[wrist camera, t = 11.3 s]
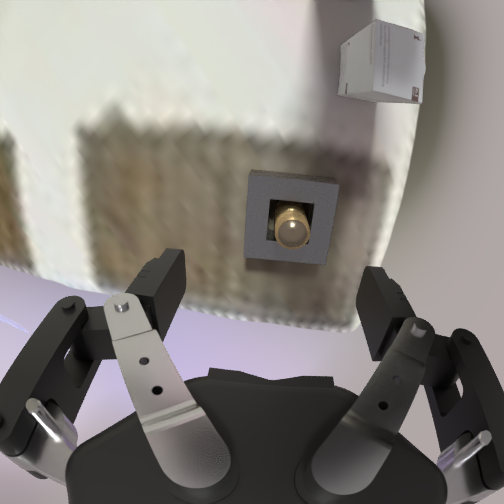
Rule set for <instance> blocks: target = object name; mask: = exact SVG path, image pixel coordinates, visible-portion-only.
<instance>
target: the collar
mask: <svg viewBox="0 0 504 504" xmlns="http://www.w3.org/2000/svg"><path fill="white" fill-rule="evenodd" d="M339 186H340V185H339V184H338V183H337V181H336V180H335V179H333V178H325V177H318V176H310V175H301V174H292V173H283V172H273V171H262V170H251V171H250V174H249V180H248V195H247V210H246V225H245V240H244V256H243V257H246V258H257V259H267V260H278V261H288V262H299V263H310V264H321V265H325V263H326V259H327V254H328V249H329V244H330V238H331V233H332V228H333V222H334V217H335V211H336V205H337V199H338V193H339ZM270 199H276V200H286V201H295V202H304V203H310V208H309V215H308V224H309V228H310V237H309V240H308V241H307V243H306V244H305V245H304V246H302V247H300V248H298V249H287V248H284V247H282V246H281V245H280V244H279V243H278V242H277V240H276V238H275V230H267V225H268V215H269V204H270Z"/></svg>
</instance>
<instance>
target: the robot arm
mask: <svg viewBox="0 0 504 504" xmlns="http://www.w3.org/2000/svg"><path fill="white" fill-rule="evenodd" d="M185 289H186V269H185V254H184V251H183V250H181V249H170V248H167V249H165V251H164V252H163V254H162V255H161V256H160V258H154V259H152V260H151V261H149V262H147V263H146V264H145V266H144V267H143V268H142V270H141V271H140V272H139V274H138V275H137V277H136V278H135V279H134V281H133V282H132V283H131V285H130V286H129V287H128V289H127V290H126V292H125V293H120V294H116V295H114V296H112V297H110V298H109V299H108V300H106V302H105V303H104V306H98V307H86V305H85V302H84V300H83V299H82V298H81V297H78V296H68V297H65V298H63V299H61V300H59V301H58V302H57V303H56V304H55V305H54V307H53V308H52V309H51V311H50V312H49V313H48V314H47V316H46V317H45V318H44V320H43V321H42V322H41V324H40V325H39V327H38V328H37V329H36V331H35V332H34V333H33V335H32V336H31V337H30V339H29V340H28V342H27V343H26V345H25V346H24V347H23V349H22V351H21V352H20V353H19V355H18V356H17V358H16V359H15V361H14V363H13V364H12V366H11V367H10V369H9V370H8V372H7V373H6V375H5V377H4V378H3V380H2V381H1V383H0V451H1V452H2V453H3V454H4V455H5V456H6V457H8V458H9V459H10V460H11V461H13V462H14V463H15V464H17V465H18V466H19V467H21V468H22V469H24V470H26V471H28V472H29V473H30V474H32V475H33V476H35V477H37V478H39V479H47V478H50V479H52V480H54V481H56V482H58V483H60V484H62V485H64V486H66V487H67V492H68V500H69V504H474V503H477V502H478V501H480V500H482V499H484V498H486V497H487V496H489V495H491V494H493V493H494V492H496V491H498V490H499V489H501V488H502V487H504V391H503V389H502V387H501V385H500V382H499V380H498V378H497V376H496V374H495V372H494V370H493V368H492V365H491V363H490V361H489V360H488V358H487V356H486V354H485V352H484V350H483V348H482V346H481V344H480V342H479V340H478V339H477V337H476V336H475V335H474V334H473V333H472V332H470V331H468V330H466V329H461V328H459V329H456V330H454V331H453V333H452V335H451V337H446V336H441V335H437V334H435V330H434V328H433V326H431V324H430V323H429V322H427V321H426V320H424V319H422V318H418V317H416V315H415V313H414V311H413V309H412V307H411V305H410V303H409V302H408V300H407V298H406V296H405V295H404V294H403V291H402V289H401V287H400V286H399V285H398V284H397V283H396V282H395V281H394V280H393V279H389V278H388V276H387V274H386V273H385V270H384V269H383V268H382V267H373V266H366V267H365V269H364V272H363V276H362V279H361V283H360V286H359V290H358V293H357V297H356V308H357V311H358V314H359V318H360V321H361V324H362V327H363V330H364V333H365V337H366V340H367V344H368V347H369V351H370V354H371V358H372V361H381V362H380V364H379V366H378V367H377V369H376V371H375V372H374V374H373V375H372V377H371V378H370V380H369V382H368V383H367V385H366V386H365V388H364V389H363V391H362V392H361V394H360V395H359V396H358V395H356V394H354V393H353V392H351V391H349V390H346V389H344V388H341V387H338V386H334V381H333V377H327V376H325V377H324V376H299V377H293V378H287V379H280V380H268V379H264V378H261V377H257V376H254V375H250V374H247V373H244V372H241V371H234V370H225V369H217V368H209V373H208V376H204V377H198V378H193V379H189V380H186V381H184V382H183V380H182V378H181V376H180V374H179V373H178V371H177V369H176V367H175V365H174V363H173V362H172V360H171V358H170V356H169V354H168V352H167V350H166V348H165V346H164V345H163V341H164V338H165V336H166V333H167V331H168V329H169V327H170V324H171V322H172V320H173V318H174V315H175V313H176V311H177V309H178V306H179V304H180V302H181V300H182V298H183V295H184V293H185ZM69 348H70V351H69V353H68V354H67V356H66V358H65V359H64V357H65V355H66V353H67V351H68V349H69ZM105 359H117V360H118V363H119V366H120V369H121V372H122V375H123V378H124V381H125V384H126V386H127V389H128V392H129V395H130V397H131V400H132V402H133V405H134V407H135V410H136V411H135V412H134V413H132V414H130V415H129V416H127V417H126V418H124V419H122V420H121V421H119V422H117V423H116V424H114V425H112V426H111V427H109V428H107V429H106V430H104V431H102V432H101V433H99V434H97V435H95V436H94V437H92V438H90V439H89V440H87V441H85V442H84V443H82V444H80V445H79V446H78V447H77V445H76V444H77V439H78V435H77V431H76V428H75V427H74V425H73V424H74V421H75V419H76V417H77V414H78V412H79V409H80V407H81V405H82V403H83V400H84V398H85V396H86V393H87V391H88V389H89V387H90V384H91V382H92V380H93V378H94V376H95V374H96V372H97V370H98V367H99V365H100V363H101V361H102V360H105ZM458 378H460V380H461V383H462V385H463V395H462V398H461V396H460V393H459V391H458V388H457V385H456V381H457V380H458ZM419 385H424V388H425V391H426V395H427V398H428V402H429V405H430V409H431V413H432V417H433V421H434V425H435V429H436V433H437V437H438V442H439V447H440V451H441V454H440V456H439V457H438V460H437V465H436V464H434V463H433V462H432V461H431V460H430V459H429V458H427V457H426V456H425V455H424V454H423V453H422V452H421V451H419V450H418V449H417V448H416V447H415V446H414V445H413V444H411V443H410V442H409V441H408V440H407V439H406V438H405V437H404V436H403V435H401V434H400V433H399V432H398V431H399V429H400V427H401V425H402V423H403V421H404V419H405V417H406V415H407V413H408V411H409V409H410V406H411V404H412V402H413V400H414V397H415V395H416V393H417V390H418V388H419Z"/></svg>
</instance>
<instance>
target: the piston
mask: <svg viewBox="0 0 504 504" xmlns="http://www.w3.org/2000/svg"><path fill="white" fill-rule="evenodd" d="M309 237H310V228H309V224H308V221H307V218H306V214H305V211H304V208H303V206H302V204H301V203H300V202H295V201H286V200H282V201H281V202H279V203H278V205H277V206H276V208H275V238H276V240H277V242H278V243H279V244H280V245H281V246H282V247H284V248H287V249H298V248H300V247H302V246H304V245H305V244H306V243H307V241H308V240H309Z"/></svg>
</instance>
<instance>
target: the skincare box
mask: <svg viewBox="0 0 504 504" xmlns="http://www.w3.org/2000/svg"><path fill="white" fill-rule="evenodd" d="M424 43H425V35H424V34H423V33H420V32H417V31H414V30H411V29H408V28H405V27H402V26H398V25H395V24H391V23H388V22H385V21H381V20H377V19H376V20H375V21H373V22H372V23H371V24H369V25H368V26H366V27H365V28H363V29H362V30H361V31H359V32H358V33H356V34H355V35H354V36H352V37H351V38H350V39H348V40H347V41H346V42H344V43H343V44H342V45H341V46H340V52H341V63H340V78H339V87H338V96H344V97H350V98H355V99H361V100H366V101H370V102H388V103H411V104H422V95H423V77H424V74H425V68H426V67H425V61H424Z"/></svg>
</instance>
